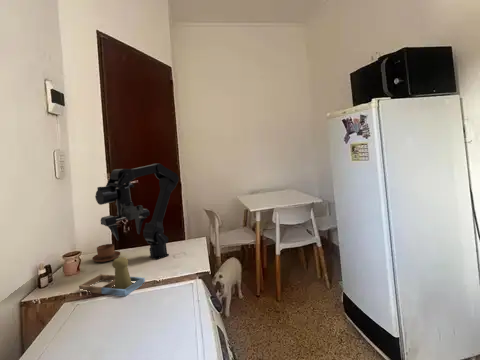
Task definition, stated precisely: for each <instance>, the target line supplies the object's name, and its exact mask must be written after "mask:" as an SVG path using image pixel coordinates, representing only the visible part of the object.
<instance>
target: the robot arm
mask: <svg viewBox="0 0 480 360" xmlns="http://www.w3.org/2000/svg"><path fill="white" fill-rule="evenodd" d="M152 174H154V176H155V177H156V178H157V179H158V180H159V181H158V185H159V189H160V190H159V193H158V196H157V199H156V203H155V207H154V210H153V214H152V217H151V220H150V221H149V222H145V224H144V226H143V223H144V221H145V220H146V219H147V218H148V217H149V216H150V215H151V214H150V210H149V209H148V208H144V206H143V205H141V204H140V205H139V204H138V205H136V206H135V205H134V202H133V201H132V197H131V189H130V188H134V187H135V185H134V184H133V183H131V182H133V180H135V179H136V178H139V177H140V178H141V177H144V176H148V175H152ZM178 183H179V175H178V173H176V172H175V171H172V170H171V169H169V168H167V167H166V166H165V165H163V164H161V163H152V164H148V165H145V166H144V165H143V166H139V167H135V168H134V167H133V168H116V169H113V170H111V173H110V176H109V179H108V181H107V183H106V185H105V186H98V187H97V188H96V192H95V196H94V197H95V201H96V203H97V204H98V205H100V206H102V205H107V204H111V203H114V204H115V206H116V209H117V212H116V216H113V215H106V216H101V218H100V225H101V226H105V227H108V229H109V230H110V231H111V233H112V235H113V236H114V237H115V239H116V240H117V241H119V240H120V238H119V237H120V236H119V232H118V224H117V222H119V221H123V220H128V221H132V220H134V222H135V228H136V232H137V234H138V235H140V234H141V230H142V226H143V227H144V228H143V230H142V232H143V233H142V236H143V238H144V240H145V241H146V242H147V244H149V258H150V259H151V258H152V259H154V260H160V259H163V258H165V257H169V256H170V253H168V250H167V244H168V243H169V237H168V236H167V235H165V234H164V230H165V229H164V224H163V223H164V218H165V215H166V212H167V207H168V204H169V200H170V197H171V194H172V192H173V191H174V190H175V189H176V187H177V185H178Z"/></svg>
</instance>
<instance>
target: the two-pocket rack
mask: <svg viewBox="0 0 480 360" xmlns="http://www.w3.org/2000/svg"><path fill="white" fill-rule="evenodd" d="M130 278H131V281H136V282H135V283H132V285H130V286H129V287H127V288H126V289H115V287H113V288H111V287H112V286H114V285H115V274H101V273H99V274H98V275H97V276H95V277H94V278H93V277H92V278H91V279H90V280H88V281H86V282H84V283H82V284H80V285H78V288H79V289H78V290H80V289H83V290H87V291H90V292H89V293H91V292H92V293H93V294H99V295H100V294H102V295H108V296H110V295H111V296H120V297H127V296H128V295H130V294H131V293H133V292H134V291H135V290H137V289H138V288H140V287H141V286H143V285H144V284H145V283H146V279H145V277H140V276H139V277H138V276H130ZM100 280H101V281H106V280H113V281H109V282H108V283H106V284H104V286H94V285H95V284H94V283H96V282H98V281H99V282H101V281H100ZM99 282H98V283H99ZM144 282H145V283H144ZM143 283H144V284H143ZM92 284H94V285H92ZM96 284H97V283H96ZM142 284H143V285H142ZM90 285H92V286H90Z"/></svg>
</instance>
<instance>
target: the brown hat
mask: <svg viewBox="0 0 480 360" xmlns="http://www.w3.org/2000/svg"><path fill="white" fill-rule="evenodd" d="M96 252H97V254H95V255H94V256H93V257H92V260H93V261H94V262H96V263H107V262H110V261H114V260H115V259H116V258H120V255H121V251H118V250H115V244H113V243H107V244H106V243H105V244H102V245H99V246H97V247H96Z"/></svg>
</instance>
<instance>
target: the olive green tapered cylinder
mask: <svg viewBox="0 0 480 360" xmlns="http://www.w3.org/2000/svg"><path fill="white" fill-rule="evenodd" d="M128 265H129V260H128V258H127V257H124V256H119V257H117V258H116V259H113V260H112V266H113V268H114V275H115V287H114V288H115V289H126V288H127V287H129V286H130V285H132V284H133V283H132V282H131V278H130V277H131V276H130V271H129V267H128Z"/></svg>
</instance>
